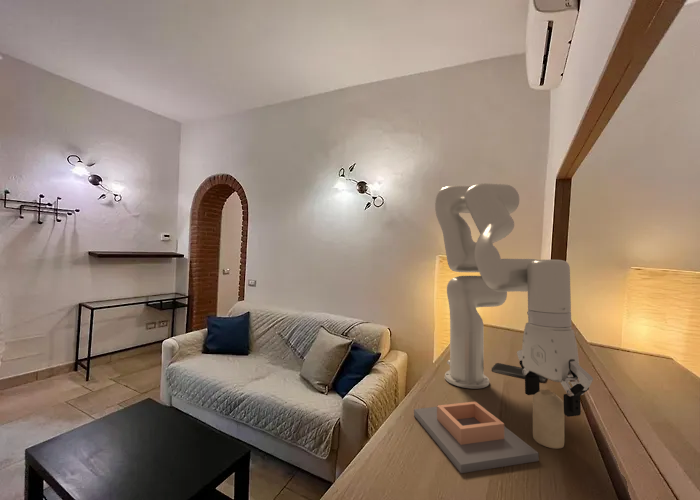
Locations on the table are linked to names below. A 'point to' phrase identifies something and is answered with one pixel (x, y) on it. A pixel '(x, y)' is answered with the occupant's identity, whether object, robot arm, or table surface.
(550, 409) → the candle
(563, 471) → the table surface
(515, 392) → the table surface
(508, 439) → the candle stand
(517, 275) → the robot arm
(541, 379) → the phone
